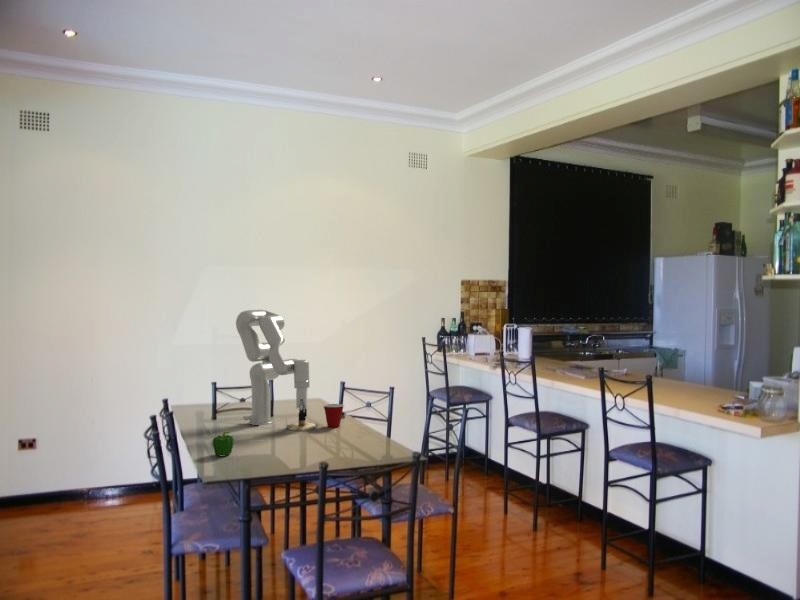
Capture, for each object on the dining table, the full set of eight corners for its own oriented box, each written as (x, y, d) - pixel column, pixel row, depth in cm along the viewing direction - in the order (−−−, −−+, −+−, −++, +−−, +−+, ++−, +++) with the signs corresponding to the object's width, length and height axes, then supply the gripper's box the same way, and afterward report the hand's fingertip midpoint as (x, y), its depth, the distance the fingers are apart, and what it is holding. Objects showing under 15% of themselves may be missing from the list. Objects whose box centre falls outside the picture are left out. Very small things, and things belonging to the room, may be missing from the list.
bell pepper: (212, 458, 251) (212, 434, 251) (213, 453, 259) (212, 430, 259) (233, 457, 254) (233, 433, 254) (233, 452, 262) (233, 429, 261)
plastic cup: (346, 425, 312) (346, 402, 311) (342, 430, 301) (342, 406, 301) (325, 425, 313) (325, 402, 312) (320, 430, 302) (320, 406, 302)
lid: (286, 431, 296) (286, 417, 296) (288, 424, 310) (288, 411, 310) (315, 430, 298) (315, 416, 298) (316, 424, 312) (316, 410, 312)
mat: (284, 433, 295) (284, 431, 295) (287, 425, 311) (287, 424, 311) (317, 432, 297) (317, 431, 297) (318, 425, 313) (318, 423, 313)
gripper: (295, 382, 312) (296, 415, 312) (292, 387, 295) (293, 422, 295) (310, 381, 313) (311, 415, 313) (308, 386, 295) (309, 421, 295)
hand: (302, 418), depth 304 cm, fingers open, 9 cm apart
